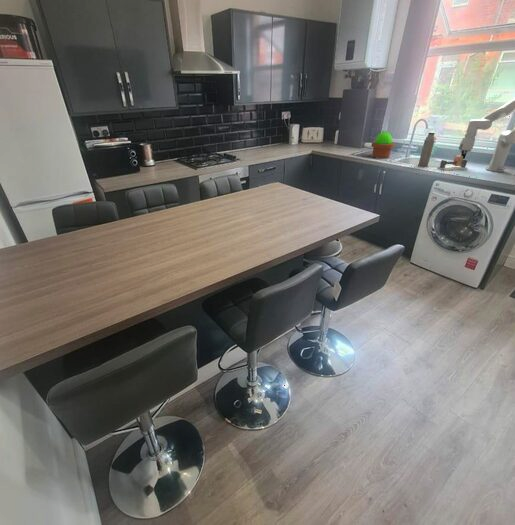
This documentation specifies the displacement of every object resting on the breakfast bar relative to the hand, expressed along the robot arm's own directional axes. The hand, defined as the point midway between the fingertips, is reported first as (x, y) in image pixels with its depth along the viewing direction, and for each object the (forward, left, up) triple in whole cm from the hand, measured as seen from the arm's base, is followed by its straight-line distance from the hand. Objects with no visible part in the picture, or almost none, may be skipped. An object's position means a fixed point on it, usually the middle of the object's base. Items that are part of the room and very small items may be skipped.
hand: (462, 158), depth 255 cm
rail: (0, +7, -9) cm, 11 cm away
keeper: (0, +4, -6) cm, 7 cm away
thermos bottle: (+16, +24, -9) cm, 30 cm away
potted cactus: (+64, +40, -9) cm, 76 cm away
